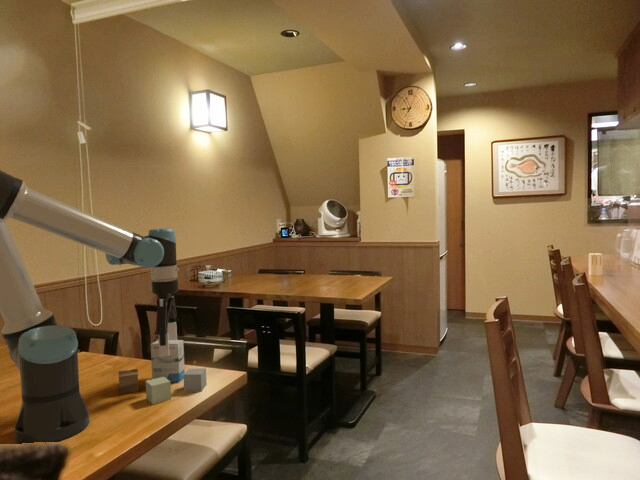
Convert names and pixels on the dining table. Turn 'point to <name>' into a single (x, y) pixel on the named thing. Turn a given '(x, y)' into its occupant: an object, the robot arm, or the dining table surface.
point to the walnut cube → (128, 381)
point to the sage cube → (158, 390)
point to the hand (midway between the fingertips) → (168, 349)
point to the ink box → (168, 361)
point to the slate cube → (194, 380)
